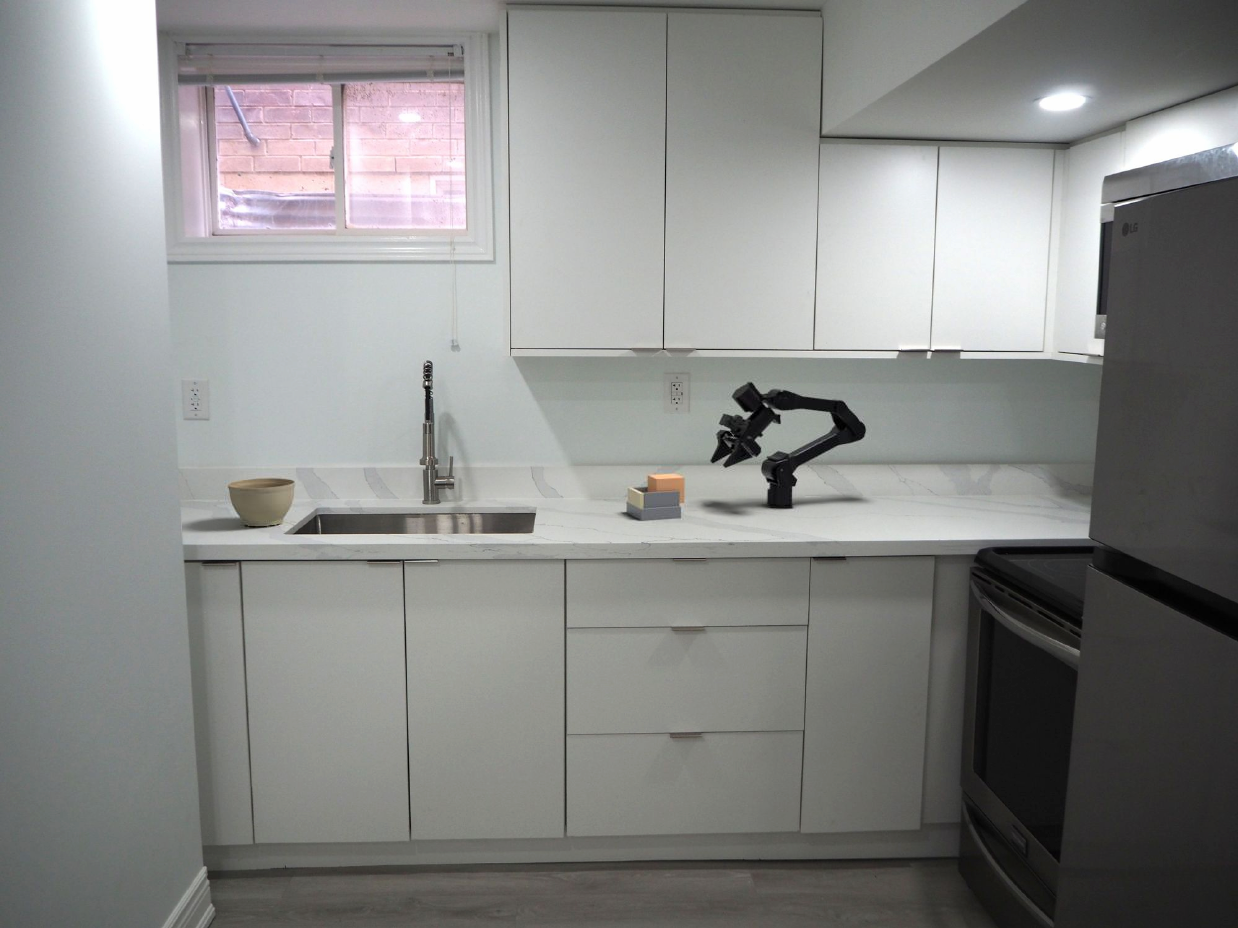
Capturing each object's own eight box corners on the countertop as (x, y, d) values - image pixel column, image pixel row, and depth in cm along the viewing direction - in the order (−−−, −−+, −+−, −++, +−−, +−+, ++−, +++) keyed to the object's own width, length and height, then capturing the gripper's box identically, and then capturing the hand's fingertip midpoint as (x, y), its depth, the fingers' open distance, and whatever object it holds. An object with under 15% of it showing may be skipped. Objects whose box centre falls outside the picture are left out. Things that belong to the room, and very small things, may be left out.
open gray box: (664, 509, 259) (664, 484, 258) (680, 517, 248) (681, 491, 247) (626, 512, 256) (626, 486, 255) (641, 520, 244) (641, 494, 243)
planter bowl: (257, 533, 230) (254, 490, 228) (217, 526, 238) (214, 484, 237) (310, 522, 243) (308, 481, 241) (270, 515, 252) (268, 475, 250)
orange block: (674, 498, 257) (674, 473, 256) (684, 503, 250) (684, 477, 249) (647, 500, 255) (647, 475, 253) (656, 504, 248) (656, 479, 247)
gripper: (723, 401, 264) (686, 440, 263) (752, 406, 247) (712, 448, 245) (747, 428, 268) (711, 467, 266) (778, 435, 250) (738, 477, 249)
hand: (717, 464), depth 256 cm, fingers open, 8 cm apart
